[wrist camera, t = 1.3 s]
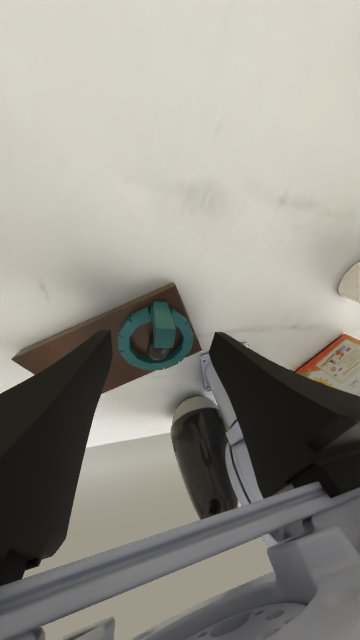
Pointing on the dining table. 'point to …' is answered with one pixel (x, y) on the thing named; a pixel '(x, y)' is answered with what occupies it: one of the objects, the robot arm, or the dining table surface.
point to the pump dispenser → (203, 456)
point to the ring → (156, 336)
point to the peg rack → (141, 339)
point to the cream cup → (351, 283)
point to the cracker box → (337, 365)
